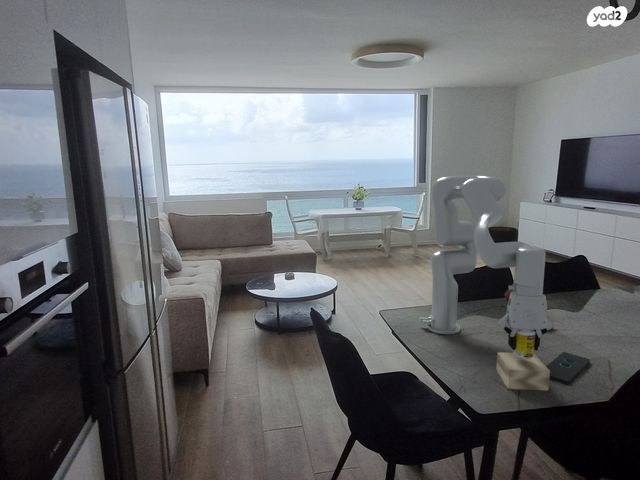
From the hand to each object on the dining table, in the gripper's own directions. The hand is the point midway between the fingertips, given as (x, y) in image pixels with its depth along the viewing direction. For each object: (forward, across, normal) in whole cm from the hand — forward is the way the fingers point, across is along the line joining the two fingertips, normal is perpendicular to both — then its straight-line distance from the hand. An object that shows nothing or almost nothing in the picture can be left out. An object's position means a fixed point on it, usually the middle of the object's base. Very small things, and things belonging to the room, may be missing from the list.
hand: (523, 347), depth 120 cm
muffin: (+11, +20, +61) cm, 65 cm away
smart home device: (+11, +16, +8) cm, 21 cm away
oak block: (+10, 0, 0) cm, 10 cm away
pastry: (+11, +22, +41) cm, 48 cm away
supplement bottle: (+3, 0, 0) cm, 3 cm away
